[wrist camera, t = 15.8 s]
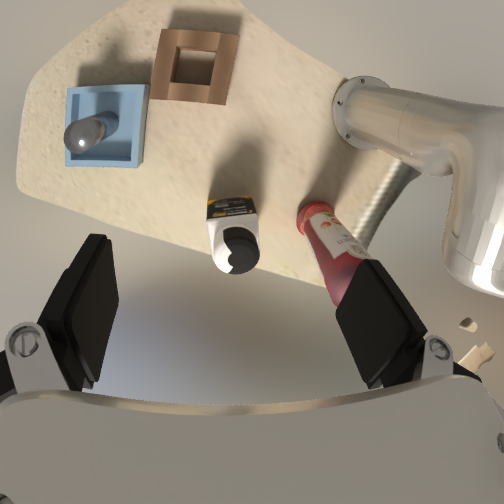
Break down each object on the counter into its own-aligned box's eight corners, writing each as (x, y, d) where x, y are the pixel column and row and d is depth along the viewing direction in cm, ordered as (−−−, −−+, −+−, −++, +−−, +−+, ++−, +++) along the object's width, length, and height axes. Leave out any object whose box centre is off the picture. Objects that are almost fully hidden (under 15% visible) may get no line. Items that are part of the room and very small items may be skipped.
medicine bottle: (251, 194, 44) (263, 232, 34) (254, 232, 48) (265, 277, 38) (206, 199, 43) (205, 239, 33) (212, 238, 47) (213, 284, 38)
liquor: (287, 230, 48) (346, 368, 25) (302, 192, 45) (386, 320, 22) (323, 238, 50) (394, 364, 27) (339, 203, 46) (432, 321, 24)
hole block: (237, 40, 30) (239, 35, 26) (224, 103, 35) (225, 105, 32) (166, 34, 28) (161, 28, 24) (155, 97, 33) (149, 99, 30)
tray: (150, 84, 32) (144, 84, 29) (142, 161, 38) (137, 168, 35) (77, 87, 29) (67, 88, 26) (75, 159, 36) (65, 166, 33)
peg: (120, 110, 32) (92, 120, 24) (118, 136, 34) (91, 153, 26) (95, 111, 31) (64, 121, 23) (94, 136, 34) (63, 154, 25)
